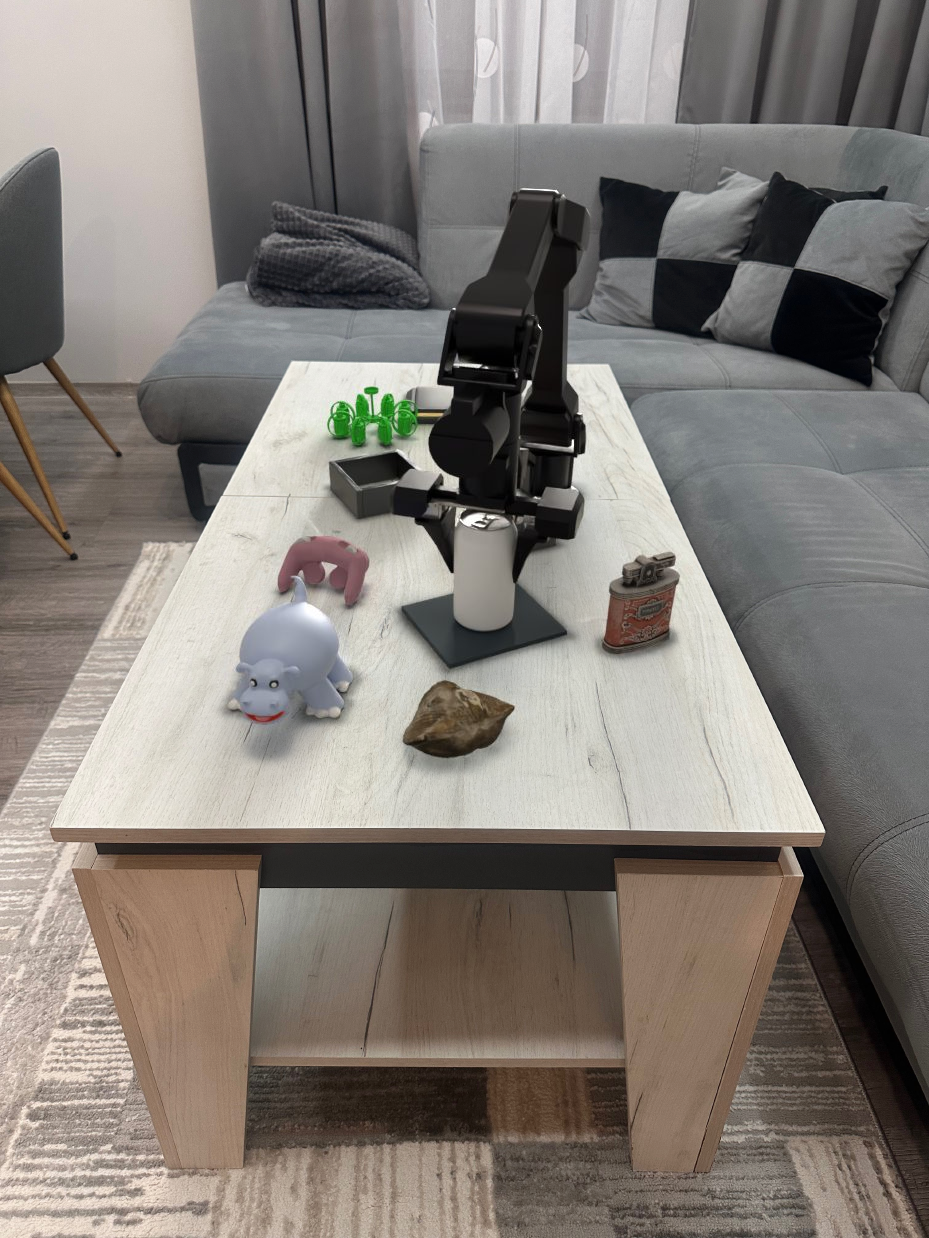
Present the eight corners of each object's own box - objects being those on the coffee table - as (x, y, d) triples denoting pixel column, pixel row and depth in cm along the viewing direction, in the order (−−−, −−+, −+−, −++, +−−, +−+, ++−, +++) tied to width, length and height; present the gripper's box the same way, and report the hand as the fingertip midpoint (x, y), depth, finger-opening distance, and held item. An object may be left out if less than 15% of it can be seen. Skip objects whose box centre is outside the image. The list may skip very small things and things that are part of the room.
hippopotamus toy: (205, 749, 78) (189, 662, 72) (256, 651, 90) (245, 571, 85) (325, 759, 77) (317, 672, 71) (360, 659, 89) (355, 578, 84)
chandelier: (309, 442, 137) (304, 400, 133) (353, 408, 148) (349, 368, 145) (397, 456, 133) (395, 412, 129) (435, 420, 144) (434, 379, 140)
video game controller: (368, 604, 101) (377, 544, 100) (351, 607, 96) (361, 544, 95) (291, 588, 103) (299, 529, 102) (271, 590, 99) (280, 529, 98)
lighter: (614, 659, 90) (625, 574, 85) (595, 641, 93) (605, 559, 87) (676, 639, 93) (691, 557, 88) (656, 623, 96) (669, 542, 90)
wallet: (520, 384, 156) (523, 415, 143) (519, 395, 157) (523, 426, 144) (407, 382, 156) (401, 412, 143) (407, 392, 157) (401, 423, 144)
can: (524, 612, 96) (530, 513, 89) (492, 640, 91) (496, 538, 85) (474, 594, 99) (477, 497, 92) (441, 620, 94) (441, 520, 88)
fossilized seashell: (413, 765, 73) (525, 759, 76) (414, 684, 73) (526, 683, 76) (391, 750, 80) (495, 746, 83) (392, 677, 80) (496, 676, 83)
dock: (399, 475, 127) (399, 449, 125) (431, 504, 119) (431, 477, 117) (330, 488, 123) (328, 461, 121) (357, 519, 115) (356, 491, 113)
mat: (511, 582, 102) (511, 578, 102) (567, 635, 94) (567, 630, 93) (401, 610, 97) (401, 606, 97) (449, 669, 88) (449, 664, 88)
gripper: (599, 417, 88) (585, 553, 97) (422, 397, 92) (423, 529, 101) (581, 460, 79) (567, 606, 88) (385, 435, 83) (390, 577, 92)
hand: (484, 576), depth 92 cm, fingers closed on can, 6 cm apart
